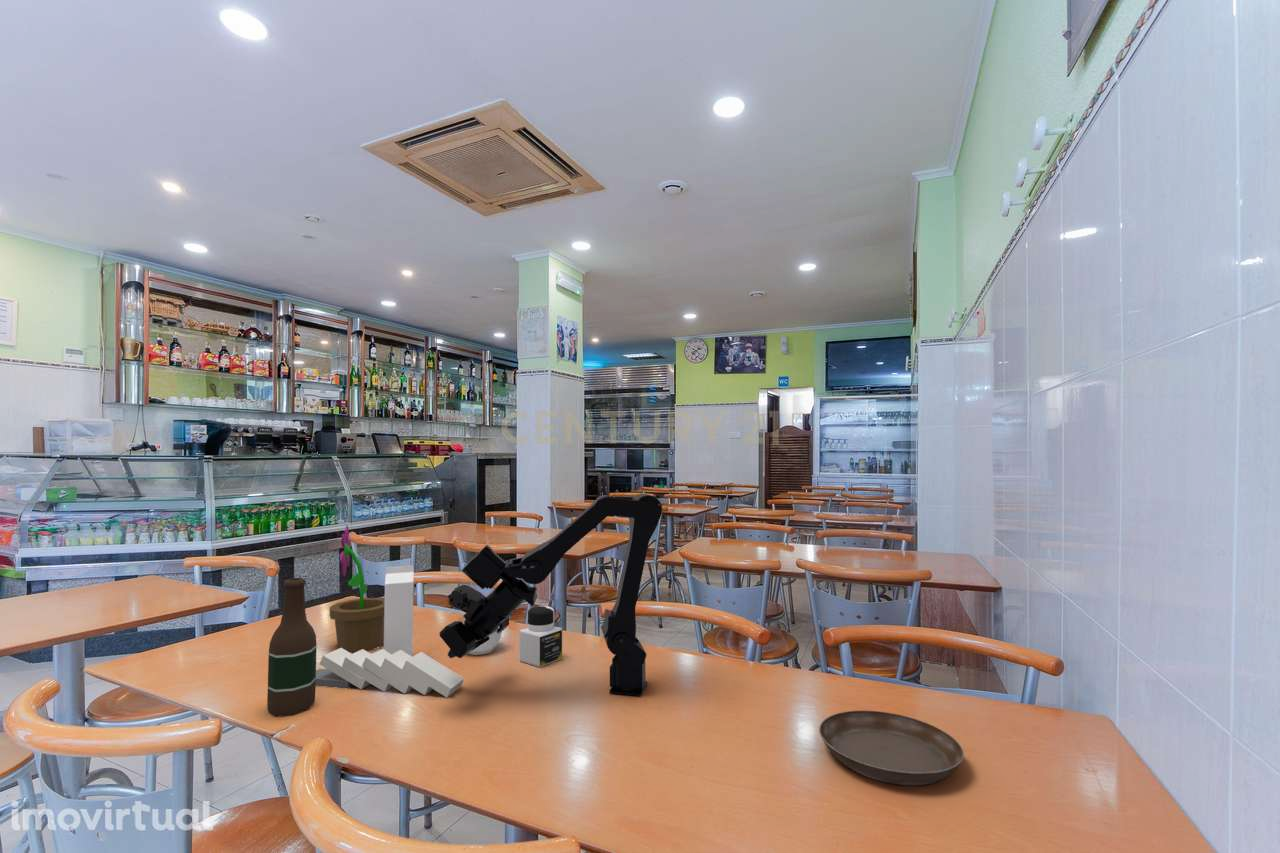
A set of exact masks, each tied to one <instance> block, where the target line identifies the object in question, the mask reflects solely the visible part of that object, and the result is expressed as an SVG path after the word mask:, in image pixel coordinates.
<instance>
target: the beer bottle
mask: <svg viewBox="0 0 1280 853" xmlns="http://www.w3.org/2000/svg"><path fill="white" fill-rule="evenodd" d="M306 585H307V581H306V579H305V578H304V577H303V578H302V577H292V578H288V579H286V580H284V582H283V585H282V587H283V588H284V593H283V594H284V595H283V604H282V614H281V619H280V624H279V625H278V626H277V628H276V629H275V631H274V632H273V633H272V634H273V635H272V636H271V639H270V641H269V645H268V646H269V648H268V660H267V661H268V662H267V663H268V664H267V666H268V669H267V697H266V699H267V700H266V702H267V705H266V706H267V712H268V713H269V714H271V715H272V716H274V717H287V716H289V717H290V716H295V715H297V714H300V713H303V712H305V711H308V710H309V709H310V708H311V707H312V706H313V705H314V704H315V700H316V688H317V686H316V670H317V647H318V646H317V634H316V633H315V629H314V628H313V626H312V624H310V622H309V621H308V617H307V614H306V596H305V595H306V594H305V593H306V592H305V586H306Z"/></svg>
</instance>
